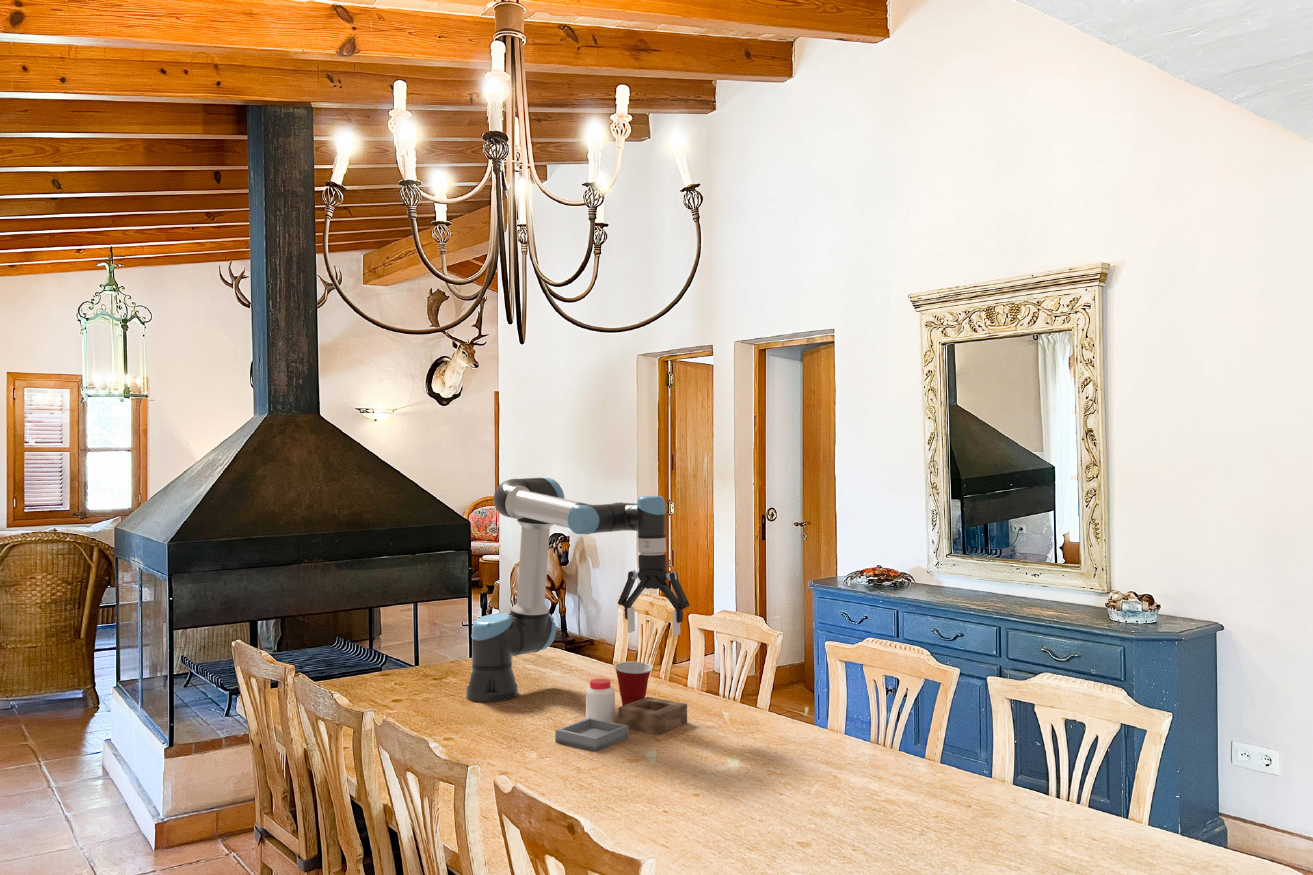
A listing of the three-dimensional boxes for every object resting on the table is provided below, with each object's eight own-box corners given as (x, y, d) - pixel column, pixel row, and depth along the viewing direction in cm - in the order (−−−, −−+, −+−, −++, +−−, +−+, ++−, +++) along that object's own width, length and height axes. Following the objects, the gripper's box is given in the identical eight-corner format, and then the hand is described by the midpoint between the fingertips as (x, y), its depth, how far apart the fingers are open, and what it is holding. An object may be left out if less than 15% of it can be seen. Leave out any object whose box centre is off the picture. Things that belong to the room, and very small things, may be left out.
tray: (555, 741, 230) (555, 729, 230) (589, 728, 240) (589, 717, 240) (595, 751, 222) (595, 738, 222) (628, 737, 233) (628, 725, 233)
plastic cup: (634, 715, 252) (634, 671, 252) (606, 708, 259) (606, 665, 260) (660, 707, 260) (660, 664, 261) (632, 700, 268) (632, 659, 268)
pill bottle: (616, 718, 250) (616, 677, 250) (612, 726, 242) (612, 684, 242) (588, 717, 251) (588, 677, 251) (583, 726, 243) (583, 684, 243)
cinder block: (618, 726, 242) (618, 707, 242) (647, 714, 253) (647, 696, 253) (658, 734, 235) (658, 715, 235) (687, 722, 245) (687, 703, 245)
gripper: (604, 553, 250) (606, 632, 249) (688, 556, 239) (690, 638, 238) (618, 551, 256) (619, 628, 256) (700, 553, 245) (702, 633, 245)
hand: (653, 633), depth 247 cm, fingers open, 13 cm apart
